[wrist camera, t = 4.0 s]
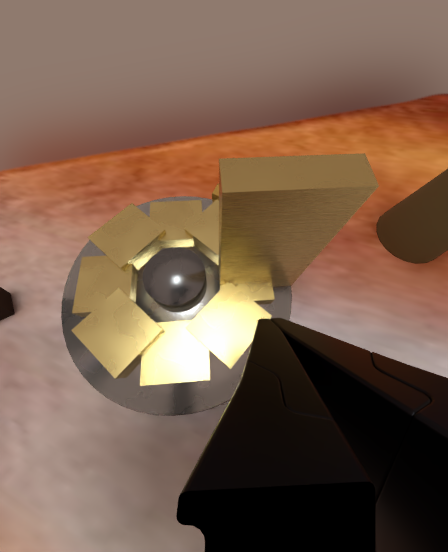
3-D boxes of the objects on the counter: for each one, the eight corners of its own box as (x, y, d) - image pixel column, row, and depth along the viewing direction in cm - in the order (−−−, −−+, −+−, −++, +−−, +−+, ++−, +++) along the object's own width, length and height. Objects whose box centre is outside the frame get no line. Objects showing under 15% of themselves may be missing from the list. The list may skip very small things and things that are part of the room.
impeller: (200, 477, 14) (195, 507, 11) (21, 312, 18) (-20, 301, 15) (324, 268, 20) (343, 250, 17) (170, 175, 24) (162, 147, 21)
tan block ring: (69, 391, 15) (-225, 436, 5) (98, 214, 20) (-17, 66, 10) (308, 370, 15) (460, 375, 6) (275, 205, 21) (325, 61, 11)
